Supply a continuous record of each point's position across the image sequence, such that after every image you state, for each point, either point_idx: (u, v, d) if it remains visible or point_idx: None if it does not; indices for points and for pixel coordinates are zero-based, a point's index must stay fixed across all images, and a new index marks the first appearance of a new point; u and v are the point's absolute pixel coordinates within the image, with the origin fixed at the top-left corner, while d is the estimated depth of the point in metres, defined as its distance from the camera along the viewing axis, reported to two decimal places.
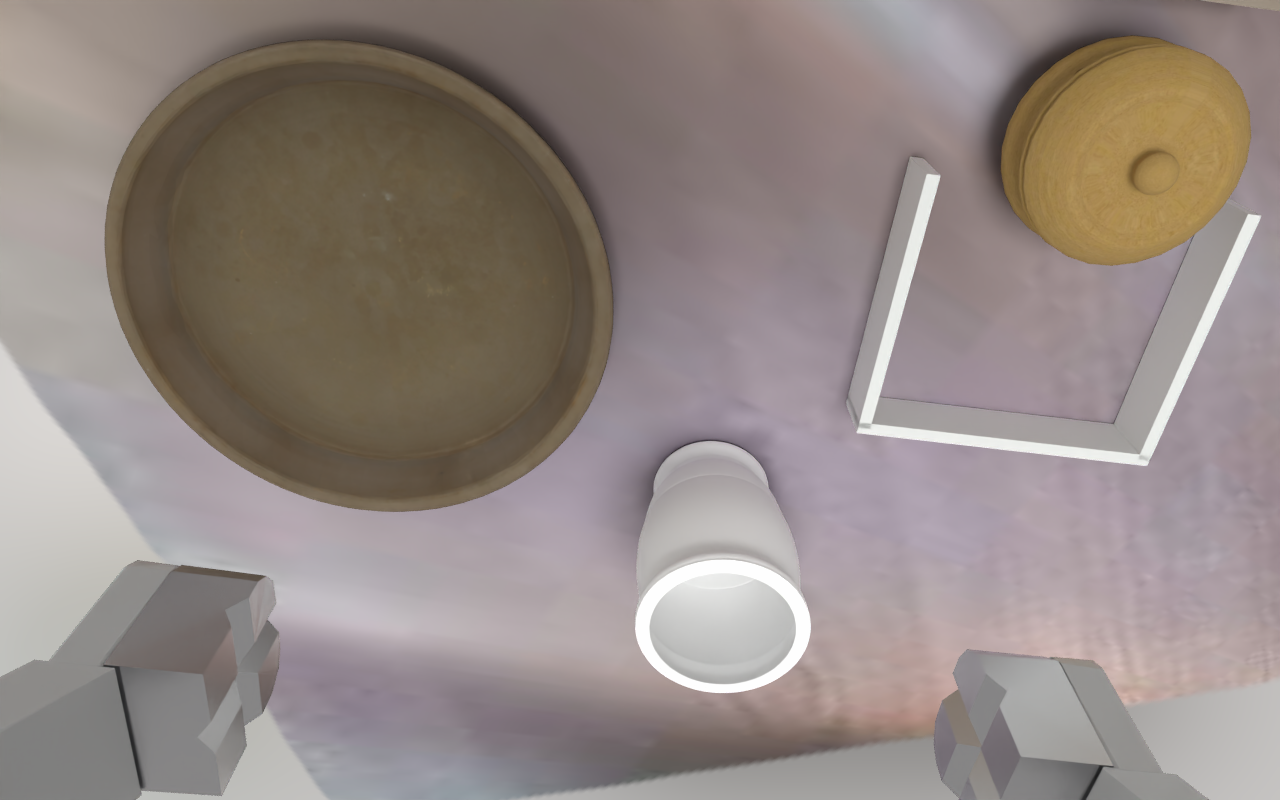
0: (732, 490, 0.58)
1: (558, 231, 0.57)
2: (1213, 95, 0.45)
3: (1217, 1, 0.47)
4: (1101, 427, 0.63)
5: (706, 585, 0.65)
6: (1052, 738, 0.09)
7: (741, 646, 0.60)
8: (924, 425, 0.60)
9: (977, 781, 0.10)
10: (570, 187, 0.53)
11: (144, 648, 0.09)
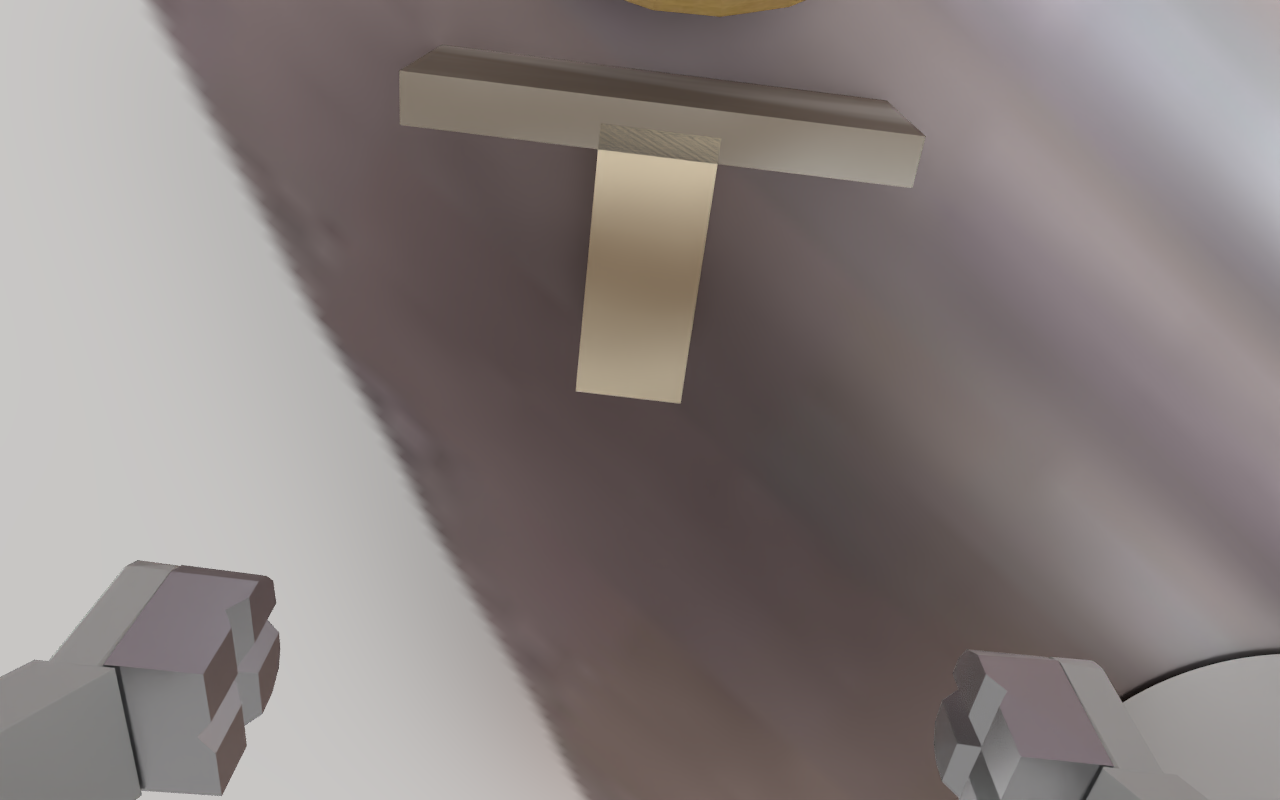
0: None
1: None
2: None
3: (557, 93, 0.21)
4: None
5: None
6: (1052, 738, 0.09)
7: None
8: None
9: (977, 781, 0.10)
10: None
11: (144, 648, 0.09)
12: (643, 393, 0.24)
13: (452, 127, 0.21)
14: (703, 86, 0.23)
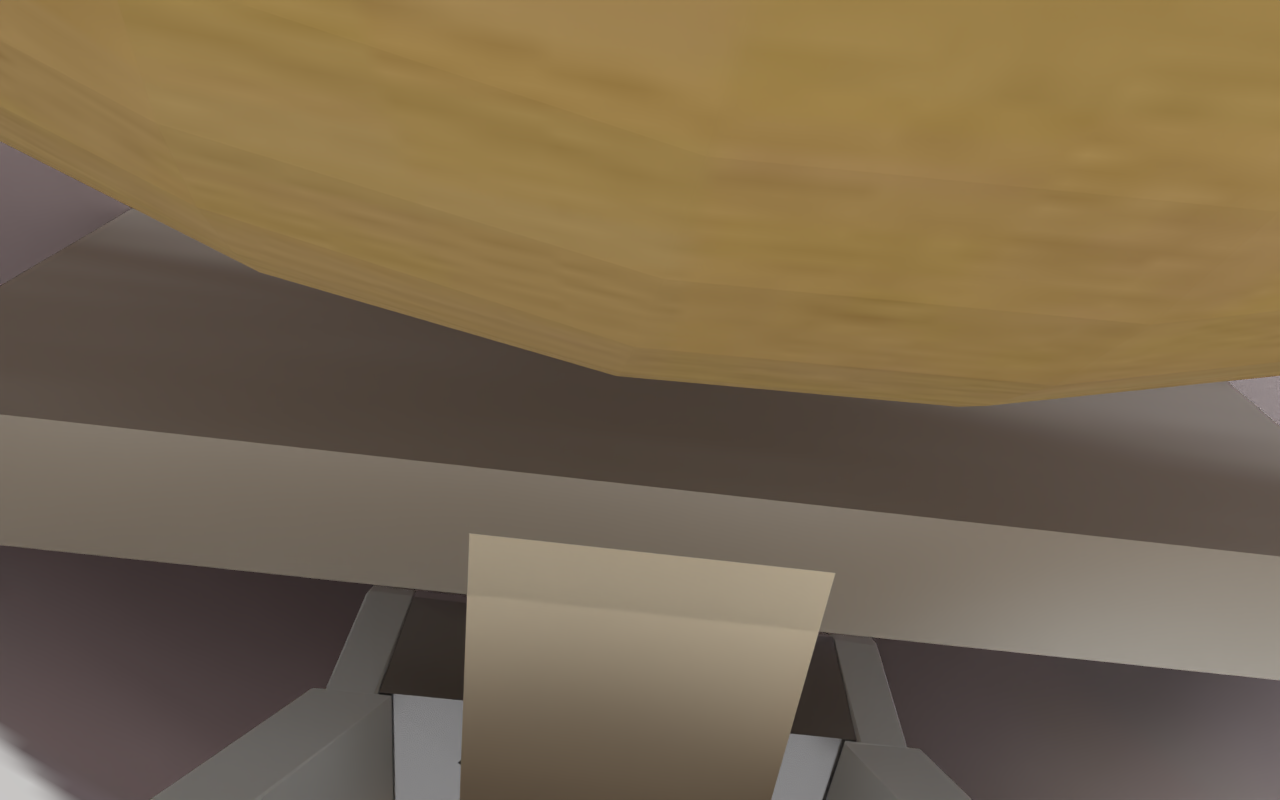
0: None
1: None
2: None
3: (326, 458, 0.07)
4: None
5: None
6: (800, 712, 0.09)
7: None
8: None
9: None
10: None
11: (413, 676, 0.09)
12: None
13: (23, 539, 0.07)
14: None
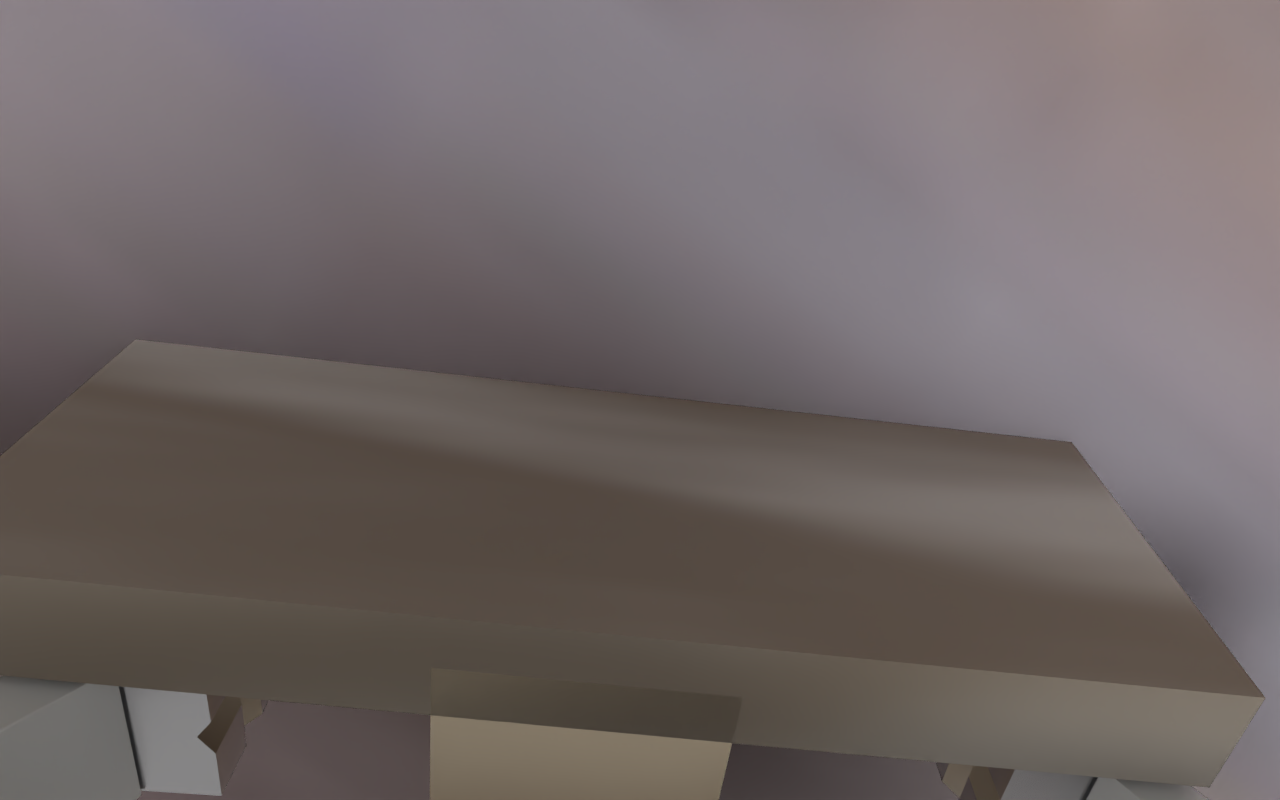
0: None
1: None
2: None
3: (308, 610, 0.08)
4: None
5: None
6: None
7: None
8: None
9: (977, 781, 0.10)
10: None
11: None
12: None
13: (51, 674, 0.08)
14: (693, 457, 0.11)
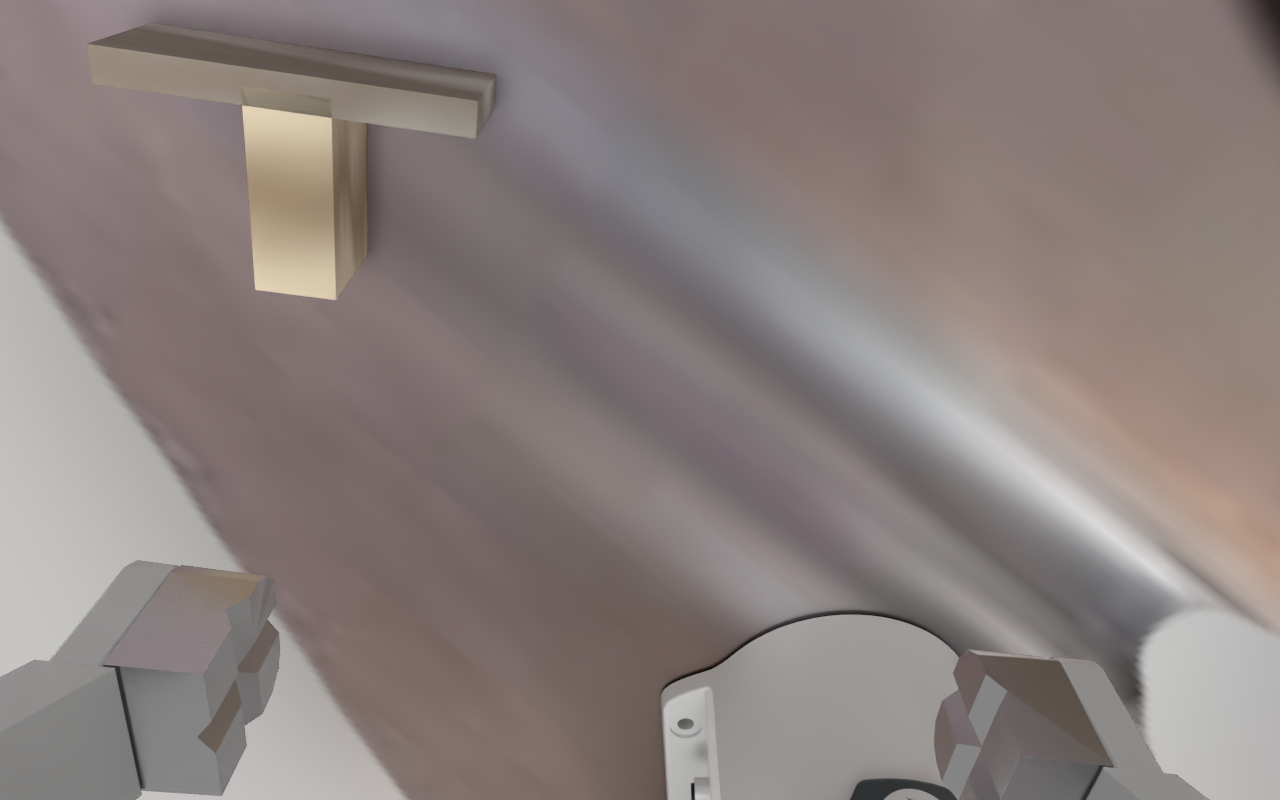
0: None
1: None
2: None
3: (205, 63, 0.28)
4: None
5: None
6: (1052, 738, 0.09)
7: None
8: None
9: (977, 781, 0.10)
10: None
11: (144, 649, 0.09)
12: (306, 292, 0.32)
13: (132, 87, 0.29)
14: (343, 60, 0.31)
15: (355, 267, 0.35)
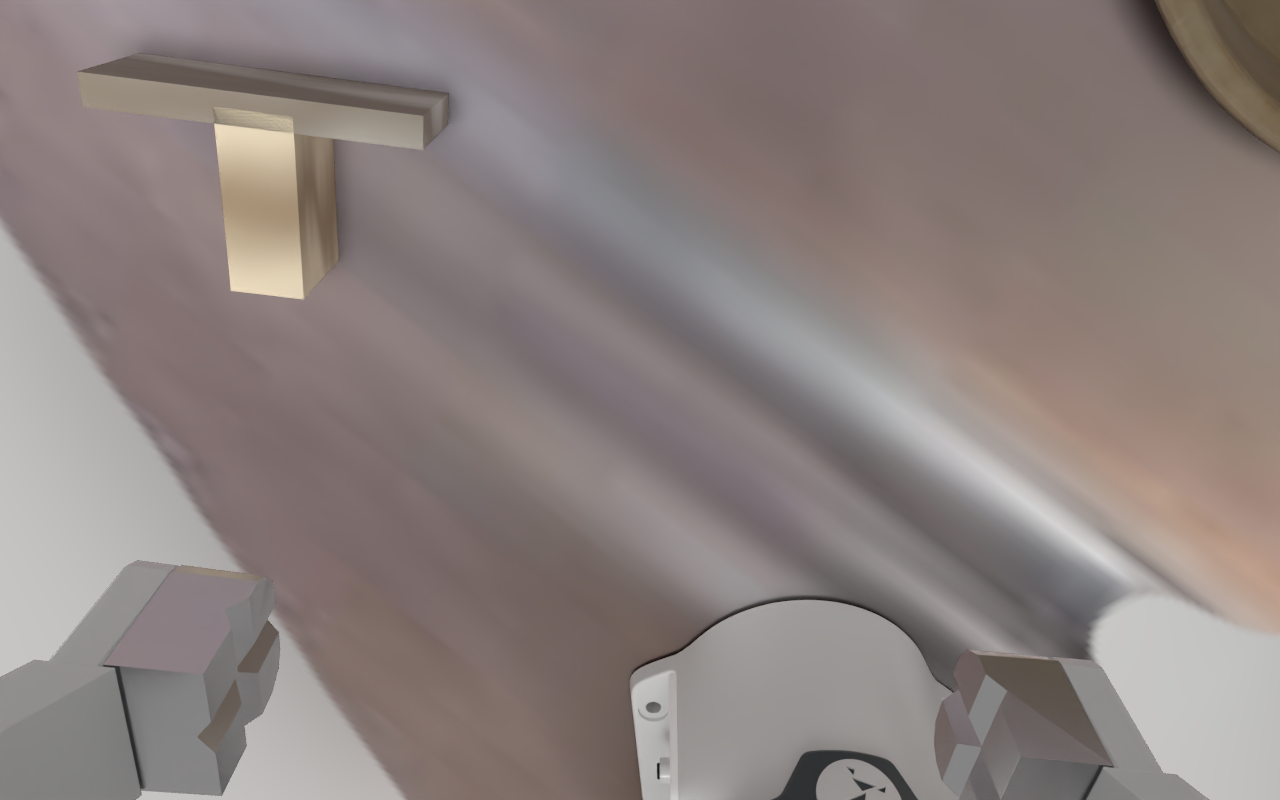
0: None
1: None
2: None
3: (180, 86, 0.32)
4: None
5: None
6: (1052, 738, 0.09)
7: None
8: None
9: (977, 781, 0.10)
10: None
11: (144, 649, 0.09)
12: (277, 292, 0.36)
13: (117, 109, 0.32)
14: (308, 82, 0.35)
15: (325, 270, 0.38)
